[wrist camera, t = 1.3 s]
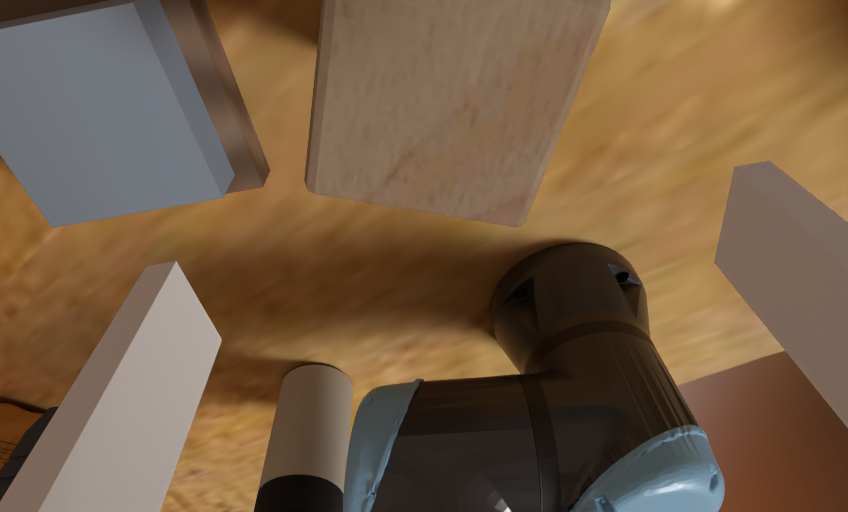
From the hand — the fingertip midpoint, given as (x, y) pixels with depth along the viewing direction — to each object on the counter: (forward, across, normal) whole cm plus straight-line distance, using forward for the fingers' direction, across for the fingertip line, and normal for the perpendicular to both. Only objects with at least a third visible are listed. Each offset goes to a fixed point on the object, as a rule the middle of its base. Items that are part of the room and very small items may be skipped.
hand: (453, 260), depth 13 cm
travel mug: (+29, +18, +37) cm, 51 cm away
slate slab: (+26, +22, +2) cm, 35 cm away
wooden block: (+29, -1, 0) cm, 30 cm away
